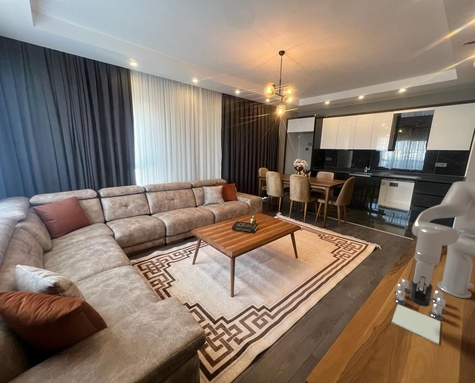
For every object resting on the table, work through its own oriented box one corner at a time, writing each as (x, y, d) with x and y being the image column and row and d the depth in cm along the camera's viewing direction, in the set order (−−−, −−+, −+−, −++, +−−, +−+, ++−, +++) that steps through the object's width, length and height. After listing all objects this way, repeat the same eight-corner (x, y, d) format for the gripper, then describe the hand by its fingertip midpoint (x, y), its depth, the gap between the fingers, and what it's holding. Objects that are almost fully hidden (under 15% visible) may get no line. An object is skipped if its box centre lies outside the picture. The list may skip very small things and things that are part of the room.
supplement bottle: (424, 298, 90) (429, 273, 88) (433, 309, 84) (438, 282, 81) (406, 294, 92) (409, 270, 90) (413, 305, 86) (417, 279, 84)
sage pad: (397, 305, 100) (397, 304, 100) (440, 322, 90) (440, 321, 89) (391, 322, 90) (391, 321, 90) (438, 344, 79) (438, 343, 79)
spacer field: (397, 285, 115) (398, 275, 114) (446, 303, 101) (448, 292, 100) (391, 300, 103) (392, 290, 102) (445, 323, 89) (447, 311, 88)
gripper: (417, 247, 93) (411, 282, 96) (412, 261, 81) (406, 301, 84) (440, 253, 87) (433, 290, 91) (438, 268, 75) (430, 310, 79)
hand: (420, 295), depth 87 cm, fingers closed on supplement bottle, 6 cm apart
